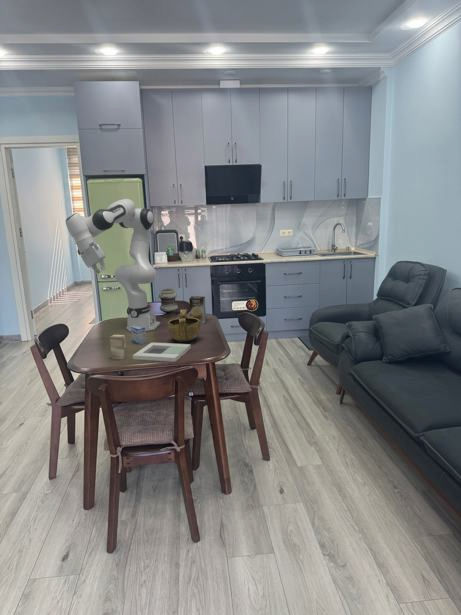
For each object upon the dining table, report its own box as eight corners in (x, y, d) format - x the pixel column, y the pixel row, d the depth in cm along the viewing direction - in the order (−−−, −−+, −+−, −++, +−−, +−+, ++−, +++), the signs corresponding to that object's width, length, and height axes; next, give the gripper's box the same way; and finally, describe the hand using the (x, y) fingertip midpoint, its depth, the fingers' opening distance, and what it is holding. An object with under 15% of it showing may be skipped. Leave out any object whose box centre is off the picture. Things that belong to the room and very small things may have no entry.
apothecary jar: (161, 318, 276) (159, 292, 272) (159, 314, 287) (157, 288, 283) (179, 316, 278) (177, 290, 274) (177, 312, 290) (175, 287, 286)
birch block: (116, 355, 207) (113, 334, 204) (127, 356, 205) (124, 335, 202) (111, 358, 203) (109, 337, 200) (122, 359, 201) (120, 337, 199)
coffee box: (190, 323, 260) (188, 298, 257) (192, 320, 267) (190, 296, 263) (204, 323, 259) (203, 298, 255) (206, 320, 265) (205, 296, 262)
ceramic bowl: (170, 335, 237) (168, 309, 234) (200, 333, 238) (199, 308, 235) (168, 347, 215) (165, 319, 212) (201, 345, 216) (199, 317, 213)
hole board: (151, 346, 219) (151, 341, 219) (190, 348, 213) (190, 343, 213) (133, 359, 201) (132, 354, 200) (175, 361, 195) (175, 357, 194)
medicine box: (131, 342, 228) (130, 326, 226) (138, 340, 231) (137, 325, 229) (139, 344, 223) (138, 329, 221) (146, 342, 226) (145, 327, 224)
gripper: (99, 238, 197) (113, 264, 199) (87, 248, 213) (100, 272, 216) (87, 243, 193) (102, 269, 196) (76, 253, 210) (90, 277, 212)
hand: (101, 271), depth 206 cm, fingers open, 8 cm apart
